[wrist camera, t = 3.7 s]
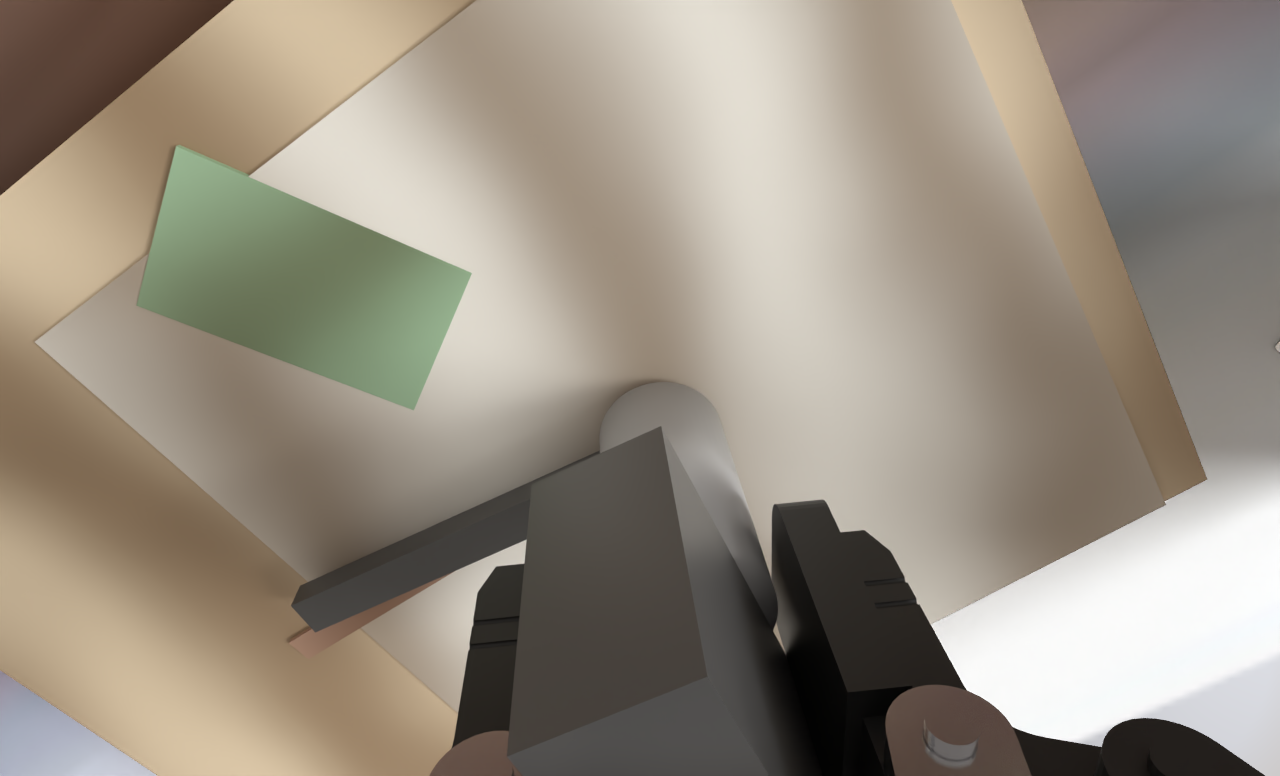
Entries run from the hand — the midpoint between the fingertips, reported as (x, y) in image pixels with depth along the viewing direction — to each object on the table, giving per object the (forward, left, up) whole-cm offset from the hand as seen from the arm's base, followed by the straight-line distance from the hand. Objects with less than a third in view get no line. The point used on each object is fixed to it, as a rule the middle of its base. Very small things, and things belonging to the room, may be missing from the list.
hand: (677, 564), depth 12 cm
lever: (+3, 0, -4) cm, 5 cm away
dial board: (+3, -1, -8) cm, 9 cm away
